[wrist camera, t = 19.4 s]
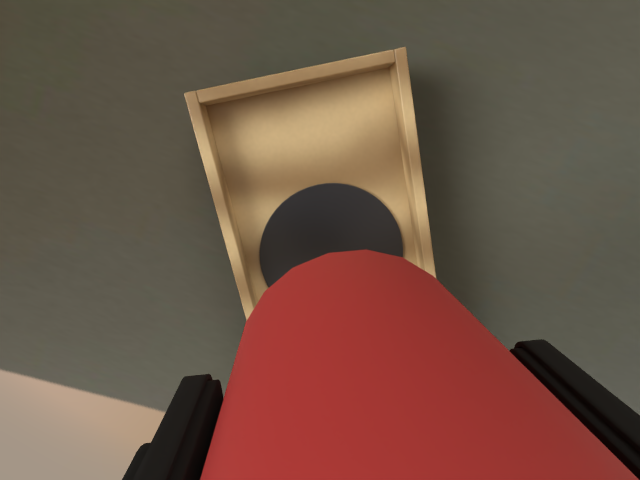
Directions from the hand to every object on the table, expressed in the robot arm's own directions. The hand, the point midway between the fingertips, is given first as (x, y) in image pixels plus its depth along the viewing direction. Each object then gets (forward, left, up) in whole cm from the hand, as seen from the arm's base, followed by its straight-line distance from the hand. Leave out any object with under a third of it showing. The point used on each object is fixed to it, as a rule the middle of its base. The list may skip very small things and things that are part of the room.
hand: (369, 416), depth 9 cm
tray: (0, 0, -15) cm, 15 cm away
